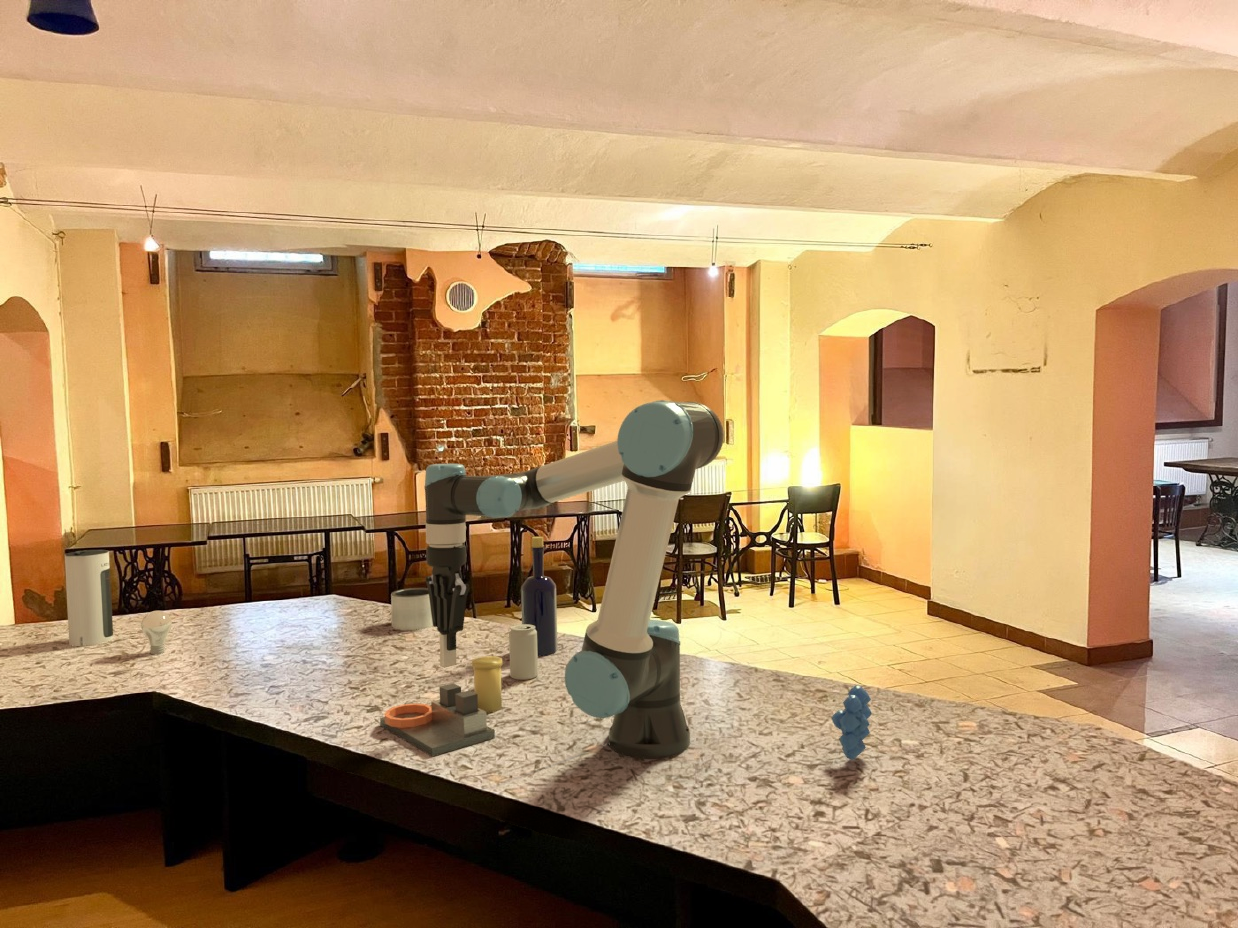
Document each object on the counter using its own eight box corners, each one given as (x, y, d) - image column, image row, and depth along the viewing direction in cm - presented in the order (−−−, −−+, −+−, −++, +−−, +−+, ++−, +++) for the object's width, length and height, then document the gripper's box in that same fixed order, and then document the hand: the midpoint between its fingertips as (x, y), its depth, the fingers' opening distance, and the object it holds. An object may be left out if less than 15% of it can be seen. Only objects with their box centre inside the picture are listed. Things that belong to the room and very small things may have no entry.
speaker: (98, 651, 226) (93, 553, 225) (59, 651, 227) (54, 554, 225) (121, 640, 237) (117, 547, 236) (84, 641, 237) (80, 548, 236)
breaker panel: (494, 737, 160) (494, 711, 160) (432, 756, 152) (431, 728, 151) (439, 709, 176) (438, 686, 176) (380, 725, 167) (379, 700, 167)
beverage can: (533, 682, 193) (532, 630, 192) (506, 681, 194) (505, 629, 194) (541, 674, 199) (540, 623, 199) (515, 673, 201) (514, 622, 200)
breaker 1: (461, 709, 165) (461, 686, 165) (447, 713, 163) (447, 690, 163) (453, 705, 167) (453, 683, 167) (440, 709, 165) (439, 686, 165)
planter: (384, 635, 238) (383, 596, 238) (402, 624, 251) (401, 587, 250) (426, 636, 236) (425, 596, 235) (443, 625, 248) (442, 587, 248)
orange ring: (441, 719, 166) (441, 711, 166) (398, 730, 160) (398, 723, 160) (419, 707, 173) (419, 700, 173) (377, 718, 167) (377, 711, 167)
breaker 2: (478, 717, 160) (477, 693, 160) (464, 721, 158) (463, 697, 158) (469, 713, 163) (469, 690, 162) (455, 717, 161) (455, 693, 160)
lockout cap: (509, 708, 176) (508, 660, 176) (483, 715, 172) (482, 666, 172) (492, 701, 181) (491, 654, 180) (467, 707, 177) (466, 660, 176)
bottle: (543, 662, 209) (541, 540, 208) (514, 657, 214) (511, 538, 213) (565, 653, 217) (563, 536, 216) (536, 648, 222) (534, 534, 220)
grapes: (841, 739, 156) (840, 675, 156) (878, 746, 153) (878, 680, 152) (821, 761, 146) (820, 693, 146) (860, 769, 143) (860, 699, 142)
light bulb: (178, 655, 221) (176, 609, 220) (151, 661, 215) (149, 614, 215) (163, 651, 225) (161, 606, 224) (137, 658, 219) (134, 611, 218)
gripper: (481, 546, 161) (483, 669, 162) (446, 538, 171) (448, 654, 172) (445, 550, 156) (448, 677, 157) (412, 542, 166) (414, 661, 167)
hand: (448, 665), depth 165 cm, fingers closed
